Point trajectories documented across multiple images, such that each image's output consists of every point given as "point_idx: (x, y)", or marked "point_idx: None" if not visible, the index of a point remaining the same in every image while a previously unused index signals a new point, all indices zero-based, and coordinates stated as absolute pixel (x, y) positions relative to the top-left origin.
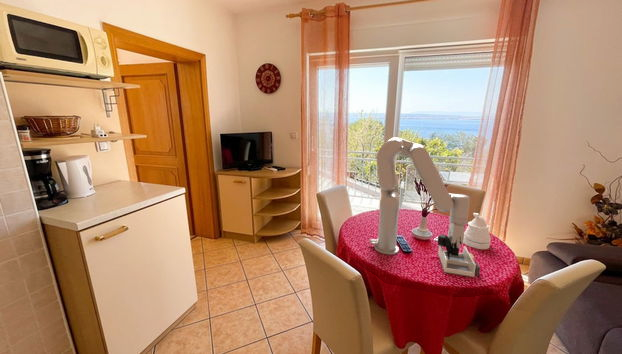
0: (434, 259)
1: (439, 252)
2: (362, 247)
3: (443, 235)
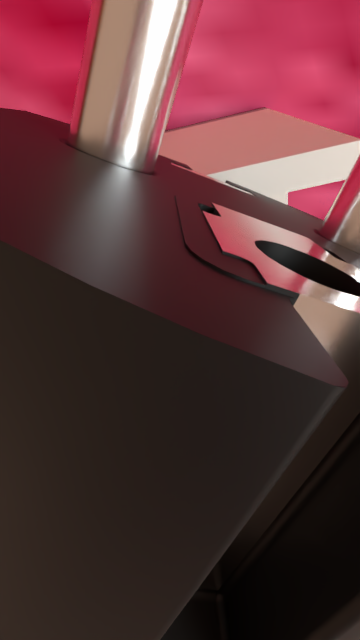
0: (21, 53)
1: (189, 136)
2: None
3: (281, 631)
